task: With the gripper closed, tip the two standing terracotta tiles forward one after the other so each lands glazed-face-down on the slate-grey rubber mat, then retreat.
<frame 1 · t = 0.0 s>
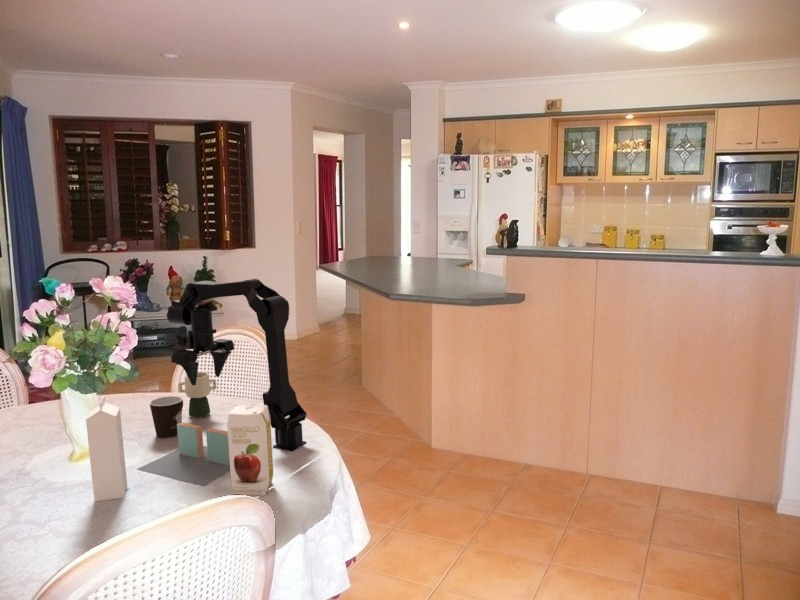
hand: (205, 380, 175), 15 cm above the table, fingers open, 9 cm apart
milk: (111, 494, 139), on the table
coffee mug: (173, 434, 175), on the table
mat: (197, 464, 154), on the table
character mug: (199, 416, 189), on the table
juice carton: (253, 490, 139), on the table
tile b: (191, 455, 158), resting on mat
tile a: (221, 461, 154), resting on mat
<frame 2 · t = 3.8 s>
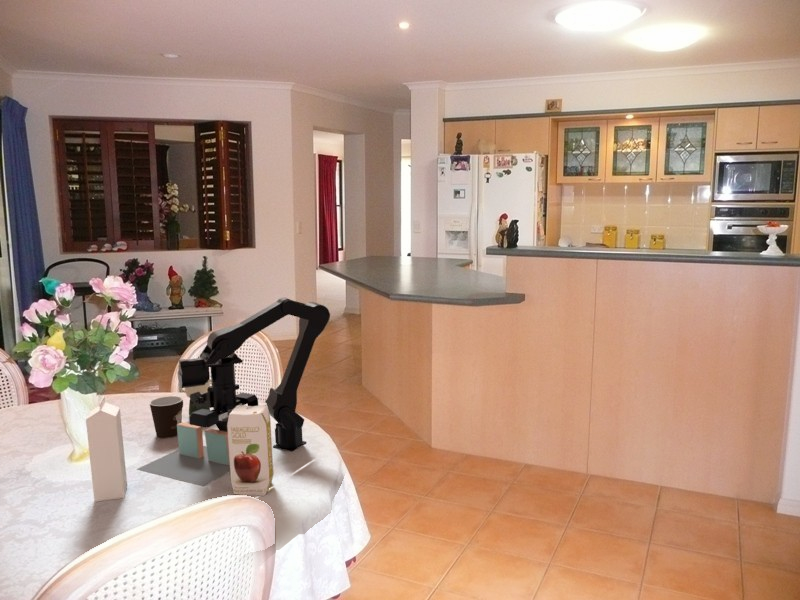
hand: (227, 442, 156), 5 cm above the table, fingers closed
tile a: (221, 461, 154), resting on mat, touching gripper
everything else where it was.
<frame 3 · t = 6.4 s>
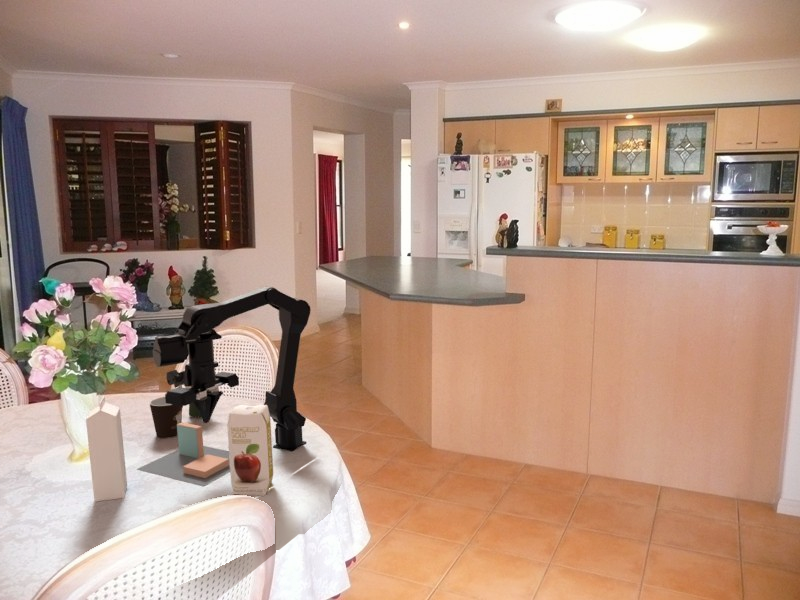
hand: (206, 422, 149), 12 cm above the table, fingers closed
tile a: (218, 459, 153), point 1 cm above the table, tilted 90°, touching mat
everything else where it was.
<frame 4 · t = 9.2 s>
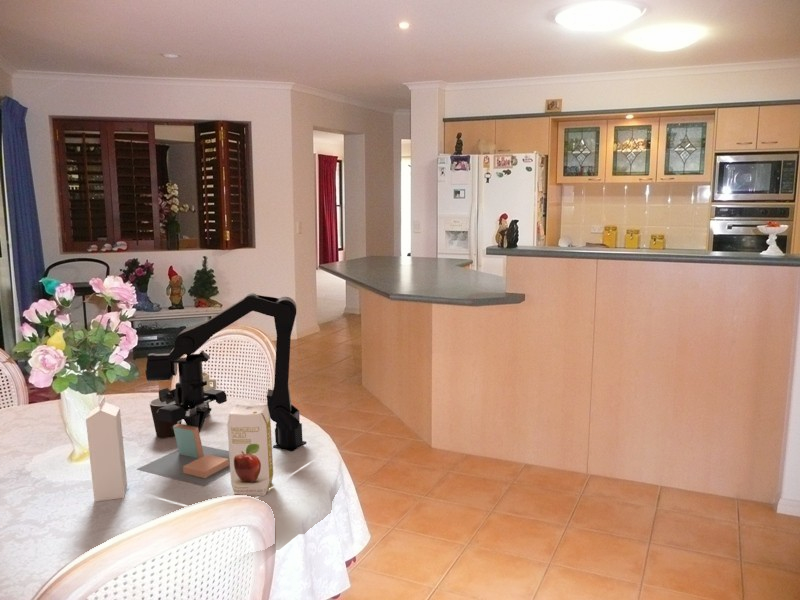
hand: (195, 436, 160), 5 cm above the table, fingers closed
tile b: (191, 454, 158), point 1 cm above the table, tilted 9°, touching gripper, mat
everything else where it was.
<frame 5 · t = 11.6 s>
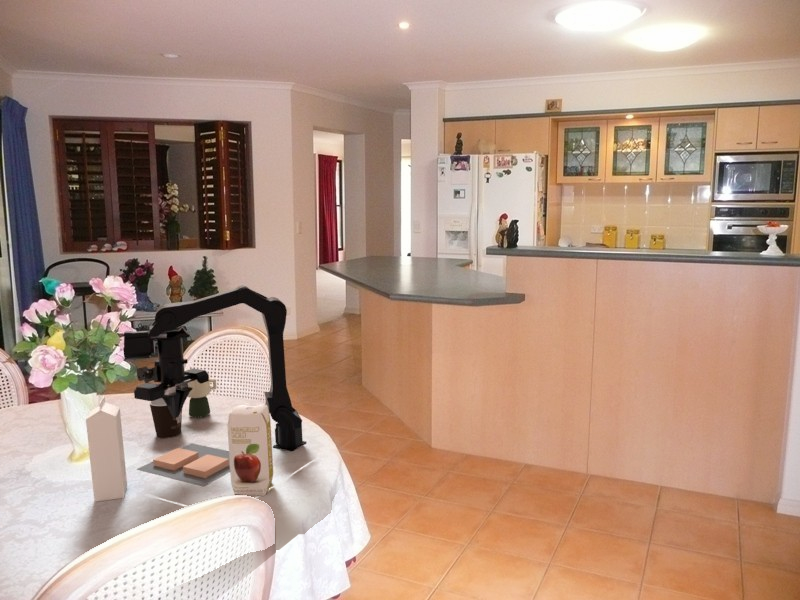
hand: (175, 417, 153), 12 cm above the table, fingers closed
tile b: (188, 453, 158), point 1 cm above the table, tilted 90°, touching mat
everything else where it was.
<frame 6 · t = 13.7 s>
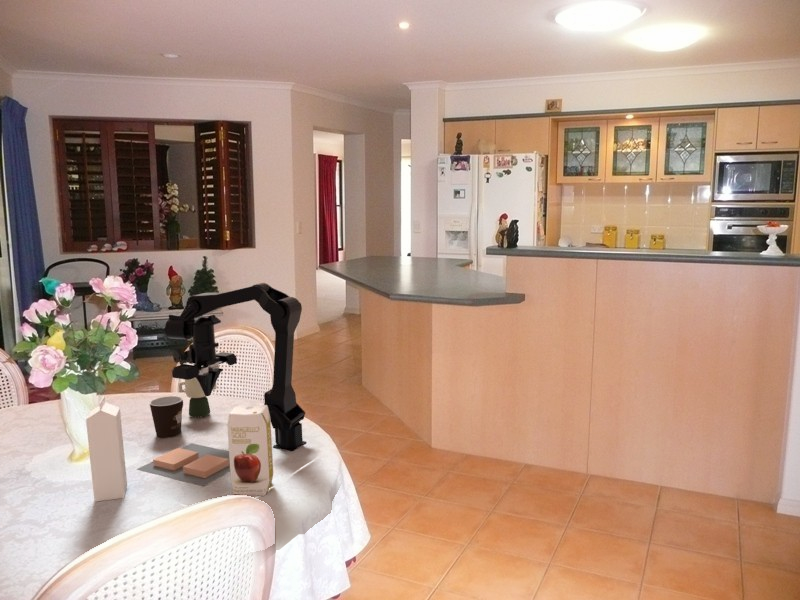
hand: (207, 395, 169), 12 cm above the table, fingers closed
nothing on the table moved.
at the end: tile a tilted 90°; tile b tilted 90°; tile a inside the target area (6.4 cm from its centre), point 1.3 cm above the table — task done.
